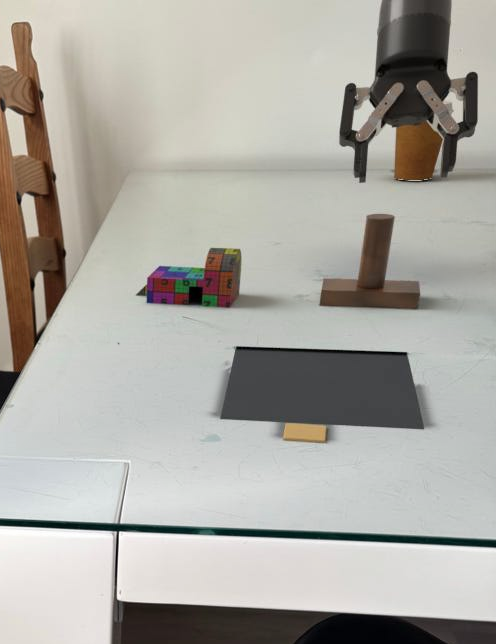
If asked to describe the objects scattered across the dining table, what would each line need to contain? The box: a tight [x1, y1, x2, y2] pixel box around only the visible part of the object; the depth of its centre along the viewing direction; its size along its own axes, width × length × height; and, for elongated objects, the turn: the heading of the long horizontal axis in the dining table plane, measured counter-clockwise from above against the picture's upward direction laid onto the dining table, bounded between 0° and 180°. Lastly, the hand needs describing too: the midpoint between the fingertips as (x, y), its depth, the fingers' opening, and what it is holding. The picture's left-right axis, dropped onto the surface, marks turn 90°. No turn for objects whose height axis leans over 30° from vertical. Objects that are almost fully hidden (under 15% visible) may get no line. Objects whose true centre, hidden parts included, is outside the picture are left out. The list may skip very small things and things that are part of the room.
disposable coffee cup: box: [393, 99, 454, 180], centre depth 173 cm, size 10×10×12 cm
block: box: [135, 247, 242, 309], centre depth 113 cm, size 12×8×7 cm
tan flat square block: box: [282, 422, 327, 444], centre depth 80 cm, size 3×3×1 cm
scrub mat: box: [219, 345, 425, 430], centre depth 90 cm, size 16×21×1 cm
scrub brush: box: [318, 213, 421, 310], centre depth 107 cm, size 10×5×10 cm, turn 73°
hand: (403, 177), depth 111 cm, fingers open, 8 cm apart
